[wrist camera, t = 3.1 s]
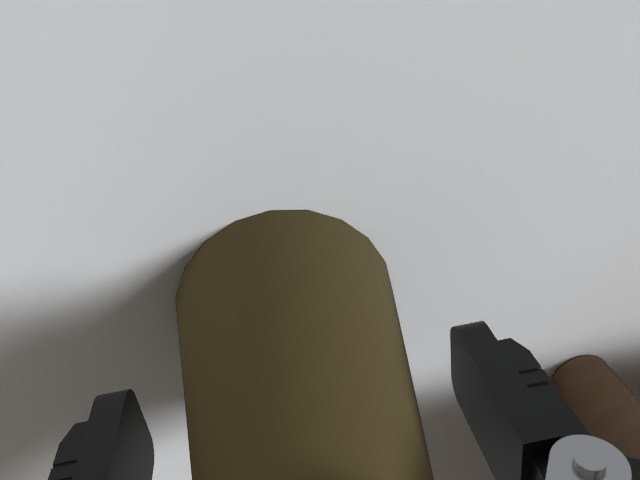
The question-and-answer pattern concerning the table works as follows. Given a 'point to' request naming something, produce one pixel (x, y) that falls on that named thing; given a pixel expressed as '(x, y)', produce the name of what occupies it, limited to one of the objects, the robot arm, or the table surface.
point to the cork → (296, 356)
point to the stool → (601, 402)
